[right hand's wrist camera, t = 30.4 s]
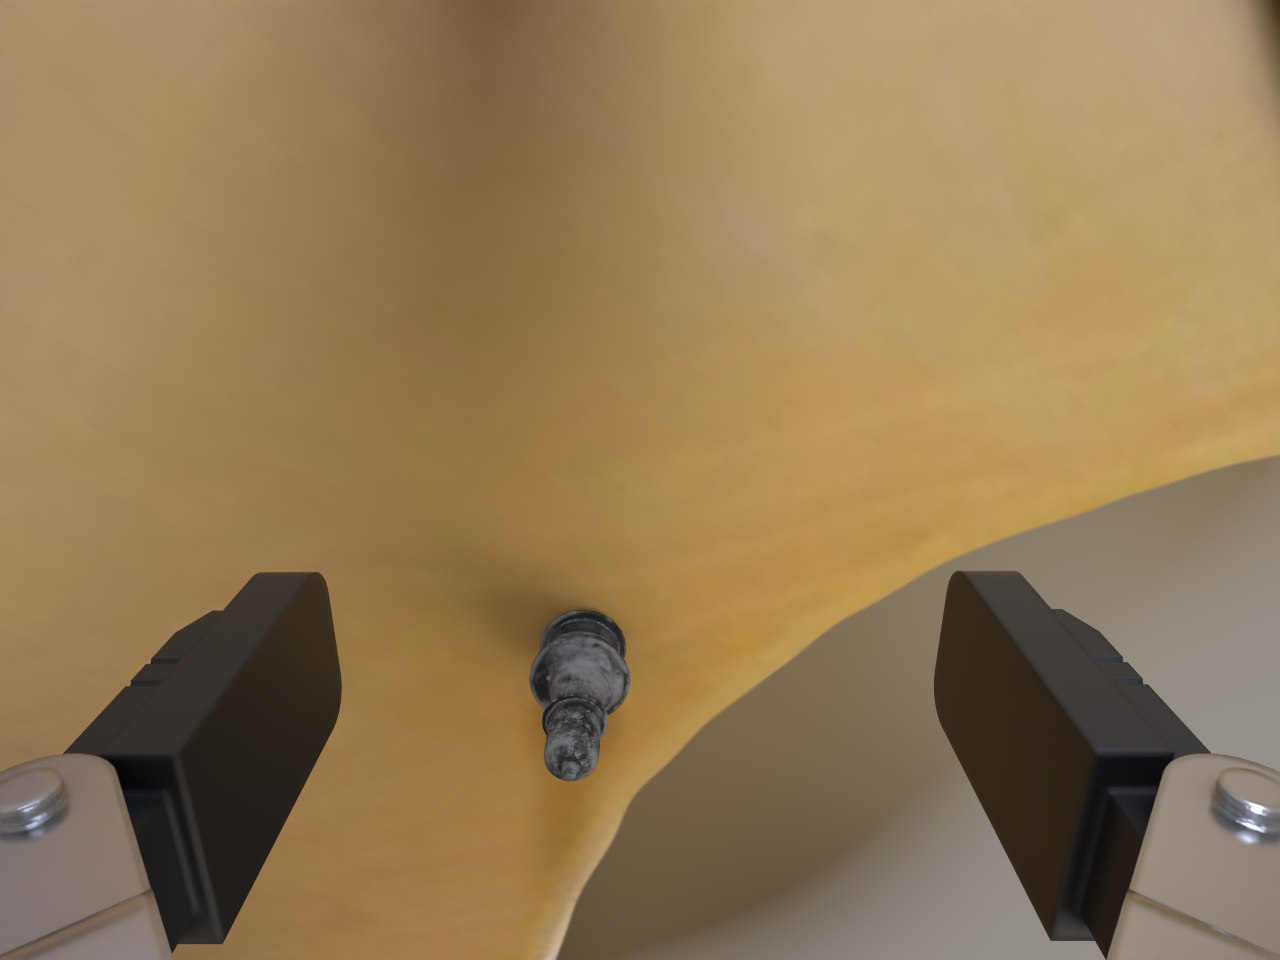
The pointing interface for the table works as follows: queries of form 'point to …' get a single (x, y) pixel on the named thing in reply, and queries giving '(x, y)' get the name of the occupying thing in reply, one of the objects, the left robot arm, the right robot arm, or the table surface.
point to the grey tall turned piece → (578, 688)
